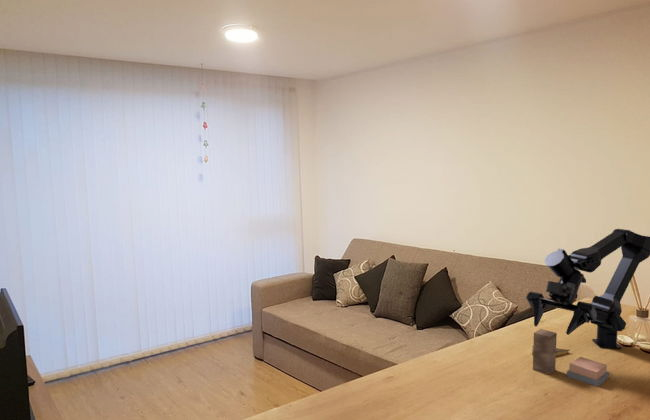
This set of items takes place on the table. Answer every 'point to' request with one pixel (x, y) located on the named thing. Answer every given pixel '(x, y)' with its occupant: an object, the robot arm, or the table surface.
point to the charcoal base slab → (588, 380)
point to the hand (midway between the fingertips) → (550, 329)
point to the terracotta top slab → (588, 368)
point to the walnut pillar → (544, 351)
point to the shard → (558, 351)
